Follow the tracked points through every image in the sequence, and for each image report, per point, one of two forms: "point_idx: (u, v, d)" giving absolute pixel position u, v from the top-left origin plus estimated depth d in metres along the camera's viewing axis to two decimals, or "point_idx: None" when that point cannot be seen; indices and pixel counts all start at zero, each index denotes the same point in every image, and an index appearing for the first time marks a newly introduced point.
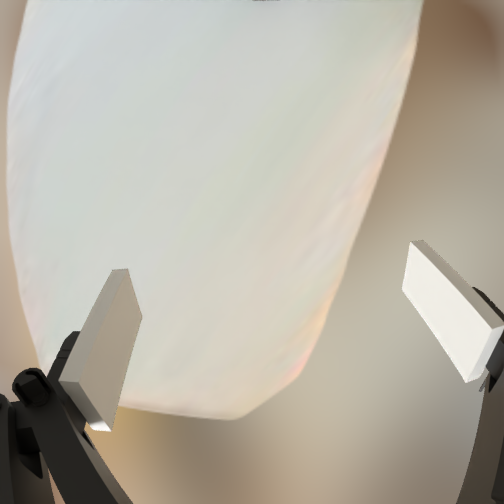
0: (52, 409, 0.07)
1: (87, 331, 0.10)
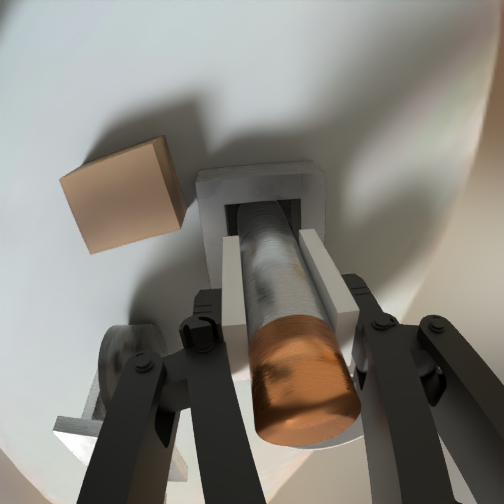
0: (215, 359, 0.09)
1: (229, 284, 0.12)
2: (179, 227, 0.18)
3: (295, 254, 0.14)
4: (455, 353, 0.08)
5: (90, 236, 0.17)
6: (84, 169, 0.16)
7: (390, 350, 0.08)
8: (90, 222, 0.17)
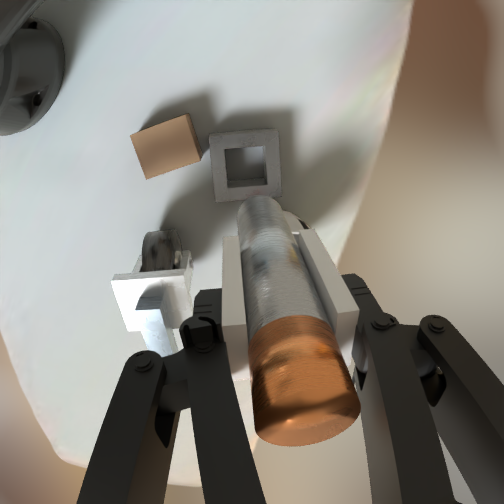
0: (215, 359, 0.09)
1: (229, 284, 0.12)
2: (199, 160, 0.32)
3: (295, 254, 0.14)
4: (455, 353, 0.08)
5: (147, 168, 0.31)
6: (146, 129, 0.30)
7: (390, 350, 0.08)
8: (147, 159, 0.31)
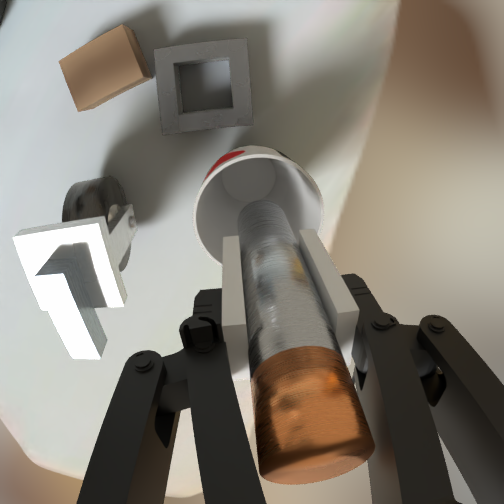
0: (215, 359, 0.09)
1: (229, 284, 0.12)
2: (142, 76, 0.21)
3: (301, 269, 0.13)
4: (455, 353, 0.08)
5: (79, 96, 0.21)
6: (76, 50, 0.19)
7: (390, 350, 0.08)
8: (79, 86, 0.20)
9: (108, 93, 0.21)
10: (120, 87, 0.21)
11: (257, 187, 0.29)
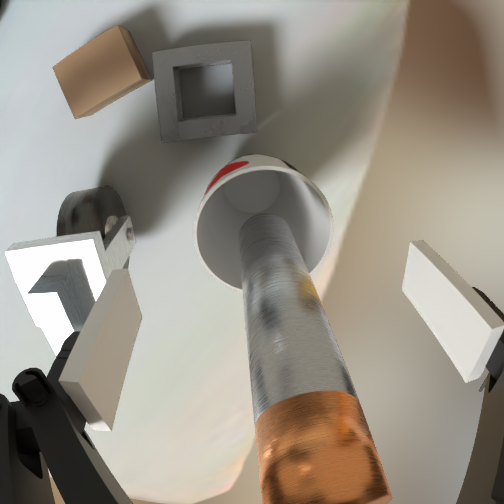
0: (52, 409, 0.07)
1: (87, 331, 0.10)
2: (140, 78, 0.20)
3: (310, 295, 0.11)
4: None
5: (75, 103, 0.20)
6: (70, 54, 0.18)
7: None
8: (75, 92, 0.19)
9: (105, 98, 0.20)
10: (118, 91, 0.20)
11: (261, 197, 0.28)
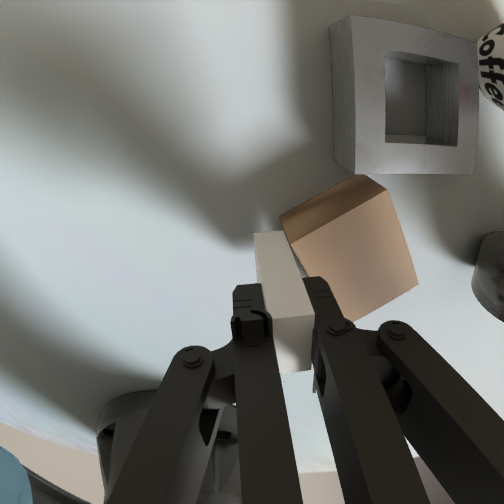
0: (264, 353, 0.09)
1: (269, 279, 0.12)
2: (385, 191, 0.13)
3: None
4: (419, 360, 0.08)
5: (399, 287, 0.16)
6: None
7: (348, 356, 0.09)
8: (384, 289, 0.16)
9: (404, 242, 0.15)
10: (398, 225, 0.14)
11: None
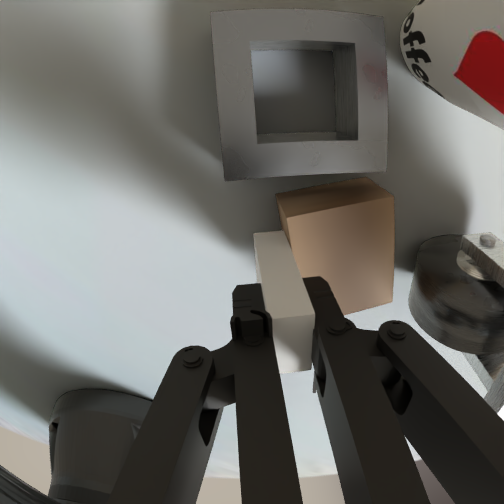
0: (263, 353, 0.09)
1: (269, 279, 0.12)
2: (391, 197, 0.13)
3: None
4: (419, 360, 0.08)
5: (373, 299, 0.16)
6: None
7: (348, 356, 0.09)
8: (359, 297, 0.16)
9: (392, 254, 0.15)
10: (392, 234, 0.14)
11: None
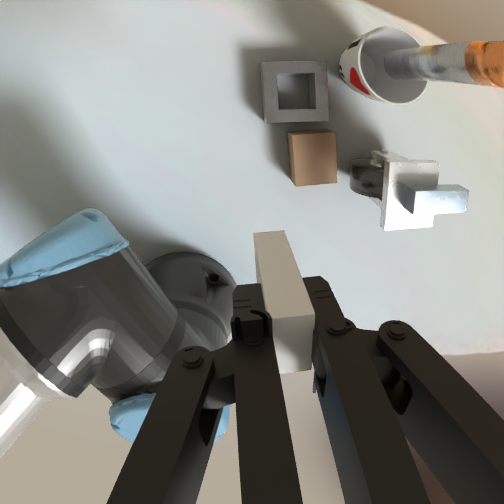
0: (263, 353, 0.09)
1: (269, 279, 0.12)
2: (334, 132, 0.34)
3: (430, 49, 0.17)
4: (419, 360, 0.08)
5: (328, 179, 0.36)
6: (295, 171, 0.36)
7: (348, 356, 0.09)
8: (321, 176, 0.36)
9: (335, 158, 0.35)
10: (335, 149, 0.35)
11: (365, 64, 0.33)
